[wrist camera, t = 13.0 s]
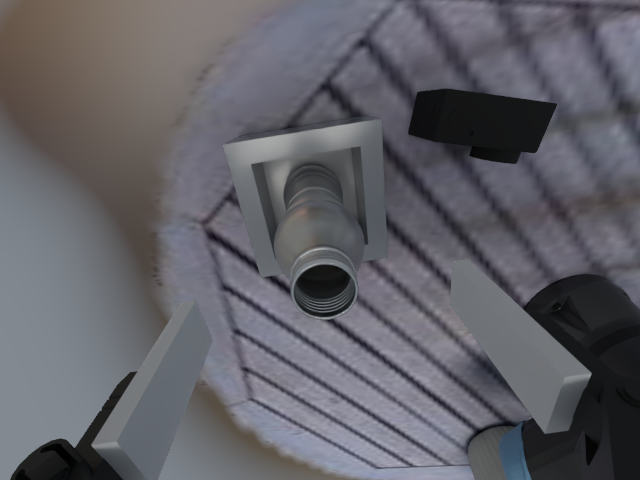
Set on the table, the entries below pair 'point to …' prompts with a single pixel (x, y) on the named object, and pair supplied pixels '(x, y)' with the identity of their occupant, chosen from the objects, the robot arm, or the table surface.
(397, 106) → the table surface
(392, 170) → the table surface
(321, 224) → the plastic bottle
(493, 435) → the canister
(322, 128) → the well
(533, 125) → the digital camera
